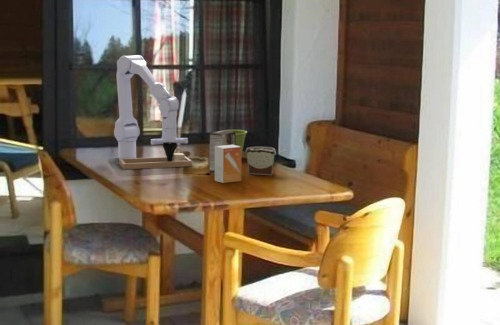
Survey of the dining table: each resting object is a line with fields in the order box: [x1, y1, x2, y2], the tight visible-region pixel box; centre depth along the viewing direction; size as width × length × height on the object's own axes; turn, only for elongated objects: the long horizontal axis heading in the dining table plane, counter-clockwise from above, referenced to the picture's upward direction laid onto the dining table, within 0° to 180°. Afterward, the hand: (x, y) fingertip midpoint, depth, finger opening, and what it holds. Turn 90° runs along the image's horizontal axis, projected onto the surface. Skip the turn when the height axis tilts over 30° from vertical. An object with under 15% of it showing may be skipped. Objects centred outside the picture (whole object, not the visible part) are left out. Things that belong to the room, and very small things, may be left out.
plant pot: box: [226, 129, 248, 158], centre depth 382 cm, size 12×12×11 cm
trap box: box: [118, 155, 193, 170], centre depth 357 cm, size 12×27×4 cm, turn 106°
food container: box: [244, 146, 277, 176], centre depth 348 cm, size 12×6×10 cm, turn 71°
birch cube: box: [173, 152, 186, 161], centre depth 359 cm, size 4×4×4 cm
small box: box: [214, 145, 242, 184], centre depth 332 cm, size 8×6×13 cm
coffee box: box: [209, 129, 236, 175], centre depth 347 cm, size 9×6×16 cm
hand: (169, 161), depth 358 cm, fingers closed
